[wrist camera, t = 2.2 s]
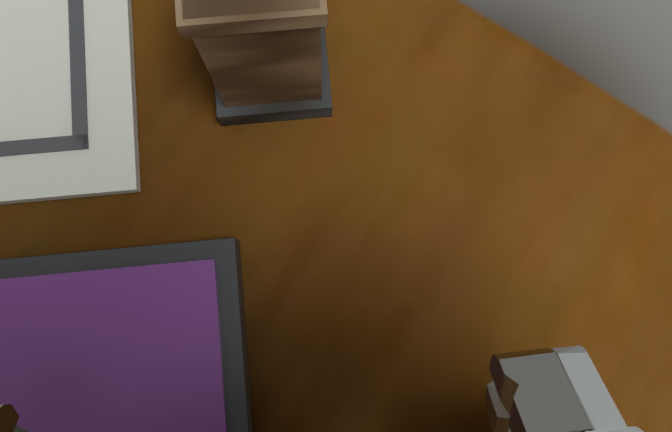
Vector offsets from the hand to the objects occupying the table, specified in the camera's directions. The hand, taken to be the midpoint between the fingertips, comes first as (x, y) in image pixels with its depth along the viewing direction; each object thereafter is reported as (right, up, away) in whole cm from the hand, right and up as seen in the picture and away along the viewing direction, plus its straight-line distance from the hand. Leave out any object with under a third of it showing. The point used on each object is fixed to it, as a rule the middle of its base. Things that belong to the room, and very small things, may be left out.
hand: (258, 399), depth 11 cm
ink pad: (-8, -3, +14) cm, 17 cm away
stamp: (-1, +10, +16) cm, 19 cm away
